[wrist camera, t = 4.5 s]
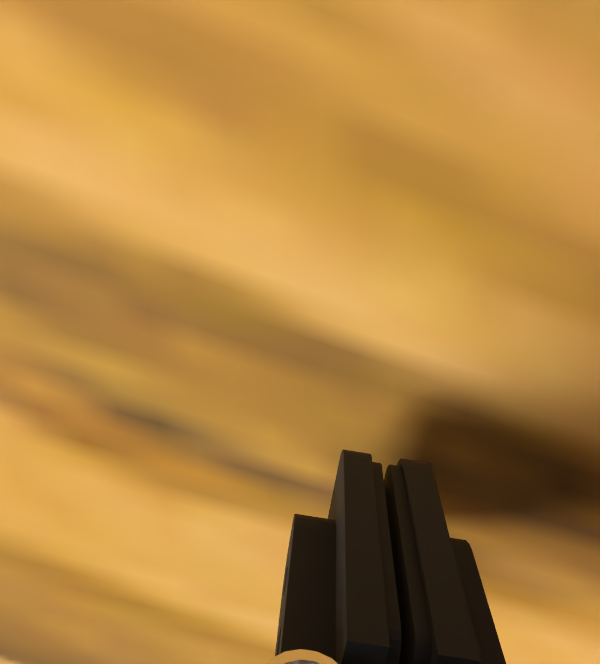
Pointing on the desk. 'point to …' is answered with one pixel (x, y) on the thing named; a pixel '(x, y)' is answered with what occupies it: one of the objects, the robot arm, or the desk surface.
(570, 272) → the desk surface
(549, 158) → the desk surface
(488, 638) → the robot arm
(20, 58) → the desk surface
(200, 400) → the desk surface
